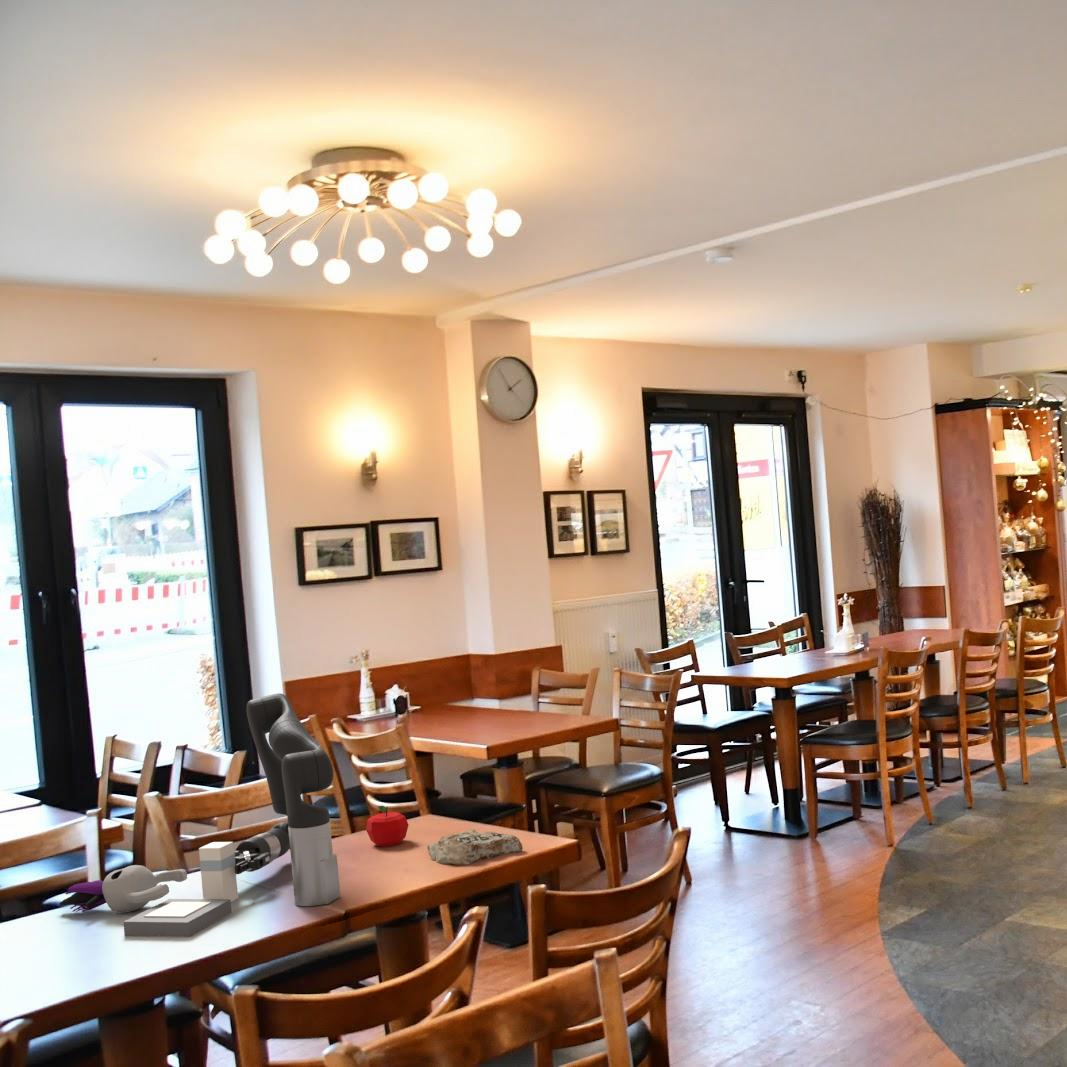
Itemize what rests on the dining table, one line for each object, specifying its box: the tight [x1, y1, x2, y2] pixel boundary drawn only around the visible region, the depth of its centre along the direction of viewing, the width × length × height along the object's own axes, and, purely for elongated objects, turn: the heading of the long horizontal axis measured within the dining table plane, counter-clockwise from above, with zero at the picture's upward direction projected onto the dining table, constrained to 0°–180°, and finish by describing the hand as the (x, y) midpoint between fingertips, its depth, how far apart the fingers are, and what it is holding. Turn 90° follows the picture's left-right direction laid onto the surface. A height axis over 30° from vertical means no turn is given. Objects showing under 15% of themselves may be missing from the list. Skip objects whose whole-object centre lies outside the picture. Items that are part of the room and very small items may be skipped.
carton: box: [198, 841, 239, 903], centre depth 274 cm, size 6×6×13 cm
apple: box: [365, 805, 409, 848], centre depth 317 cm, size 11×11×10 cm
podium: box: [122, 898, 232, 938], centre depth 259 cm, size 16×16×3 cm
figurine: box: [59, 864, 188, 914], centre depth 275 cm, size 16×10×30 cm
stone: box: [426, 828, 523, 866], centre depth 300 cm, size 19×6×25 cm
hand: (220, 870), depth 275 cm, fingers open, 8 cm apart
